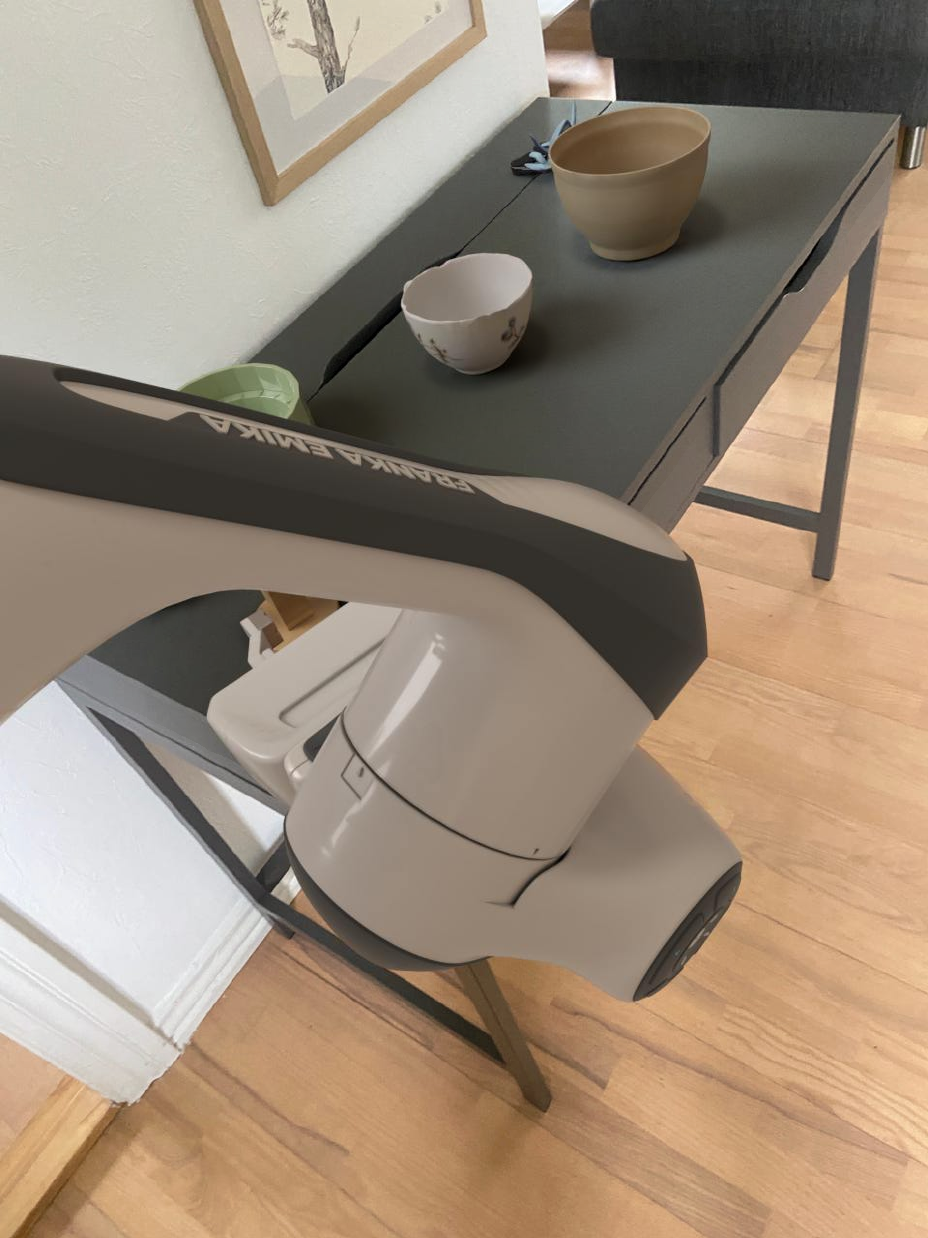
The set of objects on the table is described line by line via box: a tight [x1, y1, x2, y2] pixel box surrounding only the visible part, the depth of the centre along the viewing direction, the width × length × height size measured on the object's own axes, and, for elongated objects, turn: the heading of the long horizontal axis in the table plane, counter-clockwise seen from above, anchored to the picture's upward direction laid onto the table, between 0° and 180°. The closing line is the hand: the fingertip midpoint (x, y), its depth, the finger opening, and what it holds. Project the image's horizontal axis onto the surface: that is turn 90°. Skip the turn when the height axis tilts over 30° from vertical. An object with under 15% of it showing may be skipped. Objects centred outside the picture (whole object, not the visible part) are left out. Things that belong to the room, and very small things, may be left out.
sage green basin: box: [174, 362, 317, 427], centre depth 86 cm, size 15×15×6 cm
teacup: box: [400, 252, 533, 375], centre depth 89 cm, size 15×12×8 cm
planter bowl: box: [548, 104, 712, 262], centre depth 96 cm, size 16×16×11 cm
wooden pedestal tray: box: [256, 590, 341, 653], centre depth 68 cm, size 8×8×12 cm
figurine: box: [510, 99, 577, 176], centre depth 114 cm, size 10×12×8 cm
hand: (320, 577), depth 54 cm, fingers open, 8 cm apart
